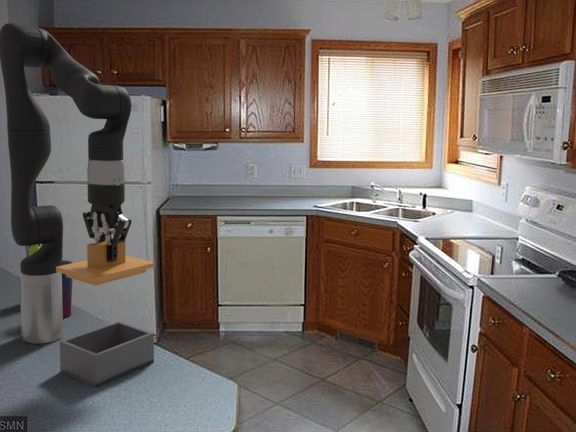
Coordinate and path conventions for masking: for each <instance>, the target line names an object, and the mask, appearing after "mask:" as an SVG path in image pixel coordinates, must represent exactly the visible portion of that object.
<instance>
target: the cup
mask: <svg viewBox="0 0 576 432" xmlns="http://www.w3.org/2000/svg"><path fill="white" fill-rule="evenodd" d="M72 263H74V262H73V261H71V260H63V259H62V263H61V266H62V265H67V264H72ZM72 298H73V279H72V278H68V277H66V274H63V273H62V308H63V319H66V318H70V317H72V316H71V315H72V301H73V300H72Z"/></svg>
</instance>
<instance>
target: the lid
mask: <svg viewBox="0 0 576 432" xmlns="http://www.w3.org/2000/svg"><path fill="white" fill-rule="evenodd" d="M86 248H87V250H86V252H87V254H86V256H87V258H86V259H85V260H82V261H78V262H77V261H76V262H73V263H72V264H67V265H62V266H58V267H56V272H60V273H63V274H66V277H68V278H72V280H75V281H79V282H82V283H85V284H88V285H91V286H94V287H95V286H99V285H103V284H104V285H105V284H107V283H110V282H111V283H112V282H114V281H119V280H122V279H126V278H130V277H133V276H137V275H141V274H145V273H146V272H147V270H149V269H152V268H156V262H153V261H150V260H145V259H142V258H138V257H133V256H130V255H126V241H125V242H122V243H119V244H118V246H117V251H118V252H117V253H118V257H117V260H116V261H114V262H107V241H102V242H97V243H96V242H93V243H87V244H86Z"/></svg>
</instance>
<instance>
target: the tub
mask: <svg viewBox="0 0 576 432" xmlns="http://www.w3.org/2000/svg"><path fill="white" fill-rule="evenodd" d="M59 361H60V362H59V363H60V364H59V365H60V368H59V369H60V373H62V374H65V375H67V376H70V377H72V378H74V379H75V380H77V381H79V382H82V383H85V384H87V385H89V386H91V387H94V388H98V387H101V386H103V385H105V384H108V383H110V382H112V381H114V380H117V379H119V378H121V377H124V376H125V375H128V374H130V373H133V372H134V371H137V370H139V369H141V368H144V367H147V366H148V365H151V364H153V363H154V362H155V333H154V332H151V331H148V330H145V329H143V328H140V327H137V326H135V325H131V324H128V323H125V322H122V321H120V320H119V321H115V322H112V323H109V324H107V325H103V326H101V327H97V328H95V329H92V330H89V331H86V332H83V333H79V334H77V335H74V336H70V337H68V338H65V339H63V340H59Z"/></svg>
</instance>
